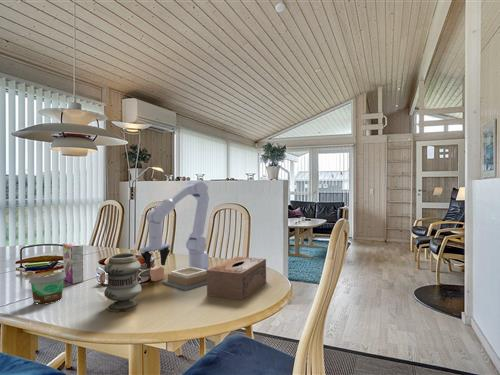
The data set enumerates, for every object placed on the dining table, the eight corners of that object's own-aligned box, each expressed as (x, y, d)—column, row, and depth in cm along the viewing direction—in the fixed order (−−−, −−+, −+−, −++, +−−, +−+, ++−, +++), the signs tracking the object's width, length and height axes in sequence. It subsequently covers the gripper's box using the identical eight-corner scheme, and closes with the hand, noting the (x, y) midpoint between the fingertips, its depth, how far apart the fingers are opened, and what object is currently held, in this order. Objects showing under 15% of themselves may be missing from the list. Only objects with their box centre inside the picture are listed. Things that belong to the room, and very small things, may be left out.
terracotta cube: (157, 277, 153) (157, 266, 153) (164, 278, 150) (163, 267, 150) (148, 279, 149) (147, 268, 149) (154, 281, 146) (154, 270, 146)
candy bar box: (62, 279, 150) (62, 243, 150) (74, 277, 154) (74, 242, 154) (71, 284, 143) (71, 246, 142) (83, 282, 146) (83, 244, 146)
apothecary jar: (104, 315, 107) (103, 260, 107) (104, 303, 118) (103, 253, 118) (143, 309, 112) (142, 256, 112) (140, 298, 123) (139, 250, 123)
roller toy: (103, 281, 146) (102, 268, 146) (117, 281, 146) (117, 268, 146) (98, 284, 142) (98, 271, 142) (113, 284, 142) (113, 271, 142)
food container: (37, 308, 115) (37, 279, 115) (29, 305, 118) (28, 277, 118) (72, 297, 125) (72, 271, 125) (63, 295, 129) (63, 269, 129)
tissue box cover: (241, 301, 120) (241, 273, 120) (207, 296, 126) (206, 270, 126) (266, 281, 144) (265, 258, 144) (236, 278, 150) (235, 256, 150)
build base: (191, 275, 155) (191, 264, 155) (215, 281, 144) (215, 270, 144) (162, 283, 143) (162, 271, 143) (186, 290, 132) (186, 278, 132)
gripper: (163, 233, 158) (164, 262, 158) (136, 237, 147) (136, 268, 147) (172, 235, 153) (173, 264, 153) (144, 239, 142) (145, 270, 142)
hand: (155, 266), depth 149 cm, fingers open, 7 cm apart
